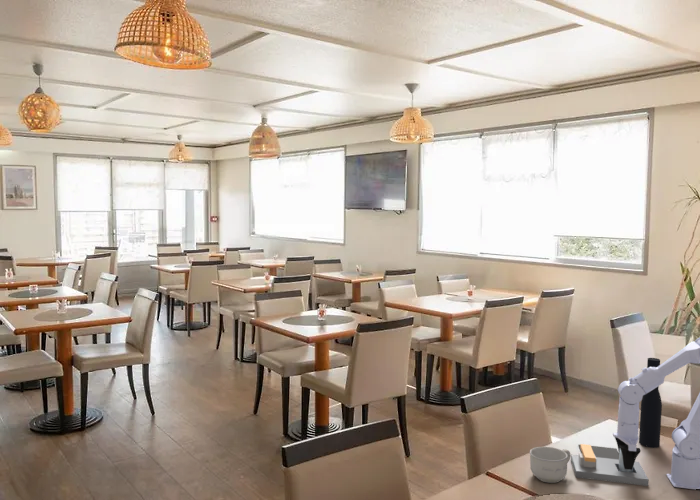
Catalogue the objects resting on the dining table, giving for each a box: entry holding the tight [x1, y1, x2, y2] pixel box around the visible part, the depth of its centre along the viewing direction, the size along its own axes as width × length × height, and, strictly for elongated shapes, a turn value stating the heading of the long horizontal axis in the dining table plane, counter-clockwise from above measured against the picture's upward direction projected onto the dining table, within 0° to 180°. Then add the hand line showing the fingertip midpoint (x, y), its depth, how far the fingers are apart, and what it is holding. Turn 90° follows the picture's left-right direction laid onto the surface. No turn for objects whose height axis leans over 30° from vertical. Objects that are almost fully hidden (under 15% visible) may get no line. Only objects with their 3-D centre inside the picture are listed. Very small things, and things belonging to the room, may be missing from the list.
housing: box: [570, 452, 650, 487], centre depth 177 cm, size 20×12×5 cm, turn 76°
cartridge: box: [618, 449, 633, 473], centre depth 175 cm, size 4×4×8 cm
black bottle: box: [638, 357, 663, 449], centre depth 198 cm, size 6×6×30 cm
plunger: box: [579, 443, 596, 462], centre depth 178 cm, size 3×10×4 cm, turn 166°
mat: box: [578, 443, 619, 460], centre depth 190 cm, size 12×12×1 cm
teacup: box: [529, 446, 571, 484], centre depth 173 cm, size 14×11×8 cm
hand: (625, 464), depth 176 cm, fingers open, 5 cm apart
